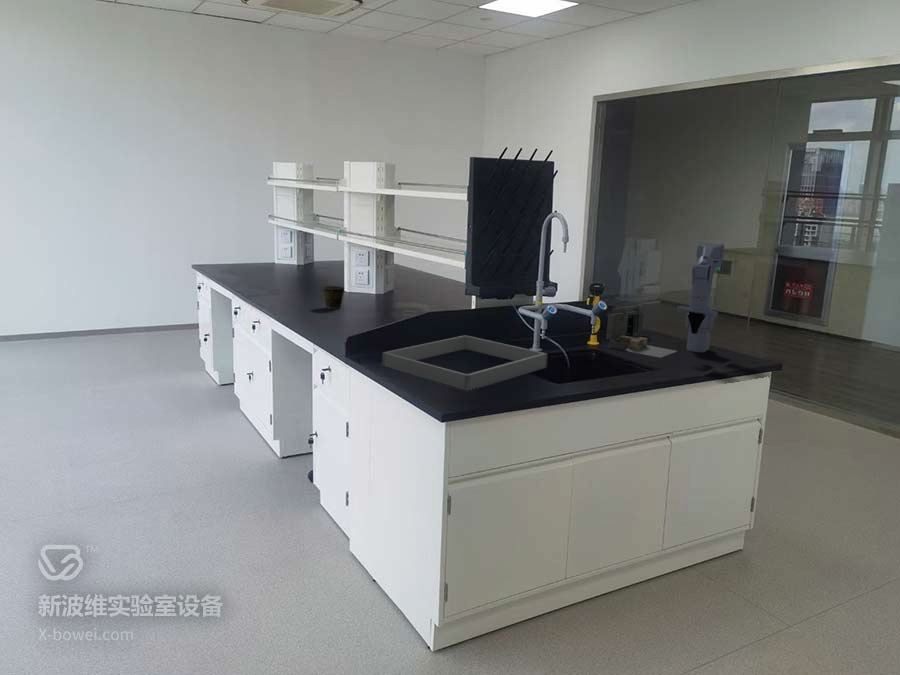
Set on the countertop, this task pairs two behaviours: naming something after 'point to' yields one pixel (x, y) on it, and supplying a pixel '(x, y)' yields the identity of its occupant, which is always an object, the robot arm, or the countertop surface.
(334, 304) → the ceramic cup
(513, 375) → the grey square frame
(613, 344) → the bracket
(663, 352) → the mat
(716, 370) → the countertop surface
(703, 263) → the robot arm
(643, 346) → the t block
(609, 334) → the geiger counter
